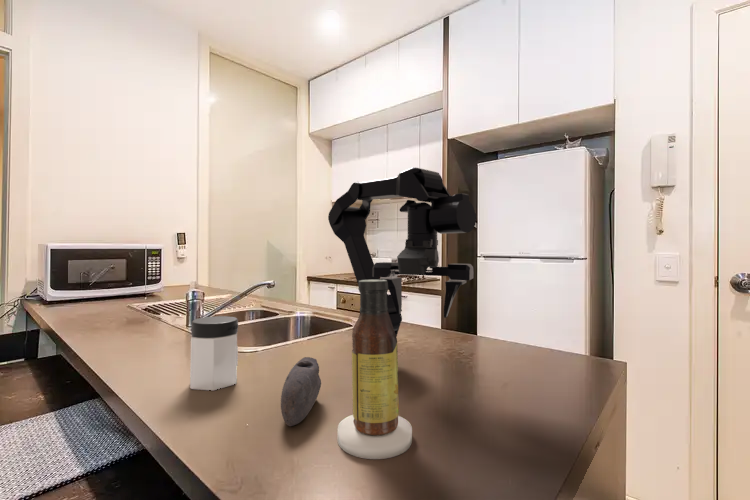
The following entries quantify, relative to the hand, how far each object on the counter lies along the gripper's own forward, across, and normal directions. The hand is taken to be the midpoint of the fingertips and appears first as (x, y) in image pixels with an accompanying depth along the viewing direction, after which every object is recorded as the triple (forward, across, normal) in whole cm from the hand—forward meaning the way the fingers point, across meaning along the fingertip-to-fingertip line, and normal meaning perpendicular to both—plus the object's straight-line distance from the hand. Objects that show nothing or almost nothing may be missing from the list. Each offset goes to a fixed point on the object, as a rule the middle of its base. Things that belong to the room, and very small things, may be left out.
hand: (421, 315), depth 71 cm
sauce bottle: (+12, 0, -23) cm, 26 cm away
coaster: (+13, 0, -23) cm, 26 cm away
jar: (+13, -36, -16) cm, 42 cm away
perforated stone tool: (+13, -14, -20) cm, 28 cm away
